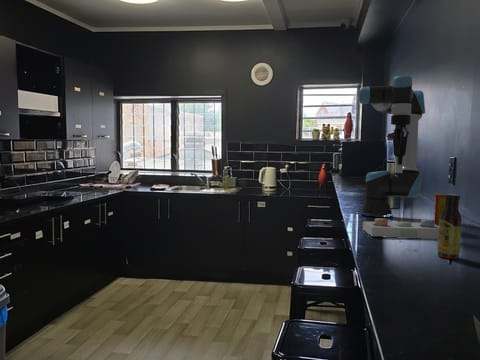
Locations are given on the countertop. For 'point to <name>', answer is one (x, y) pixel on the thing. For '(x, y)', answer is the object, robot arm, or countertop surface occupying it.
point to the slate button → (427, 223)
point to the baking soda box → (438, 206)
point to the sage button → (404, 224)
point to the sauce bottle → (450, 228)
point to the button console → (401, 230)
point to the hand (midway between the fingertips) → (398, 172)
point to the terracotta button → (381, 222)
